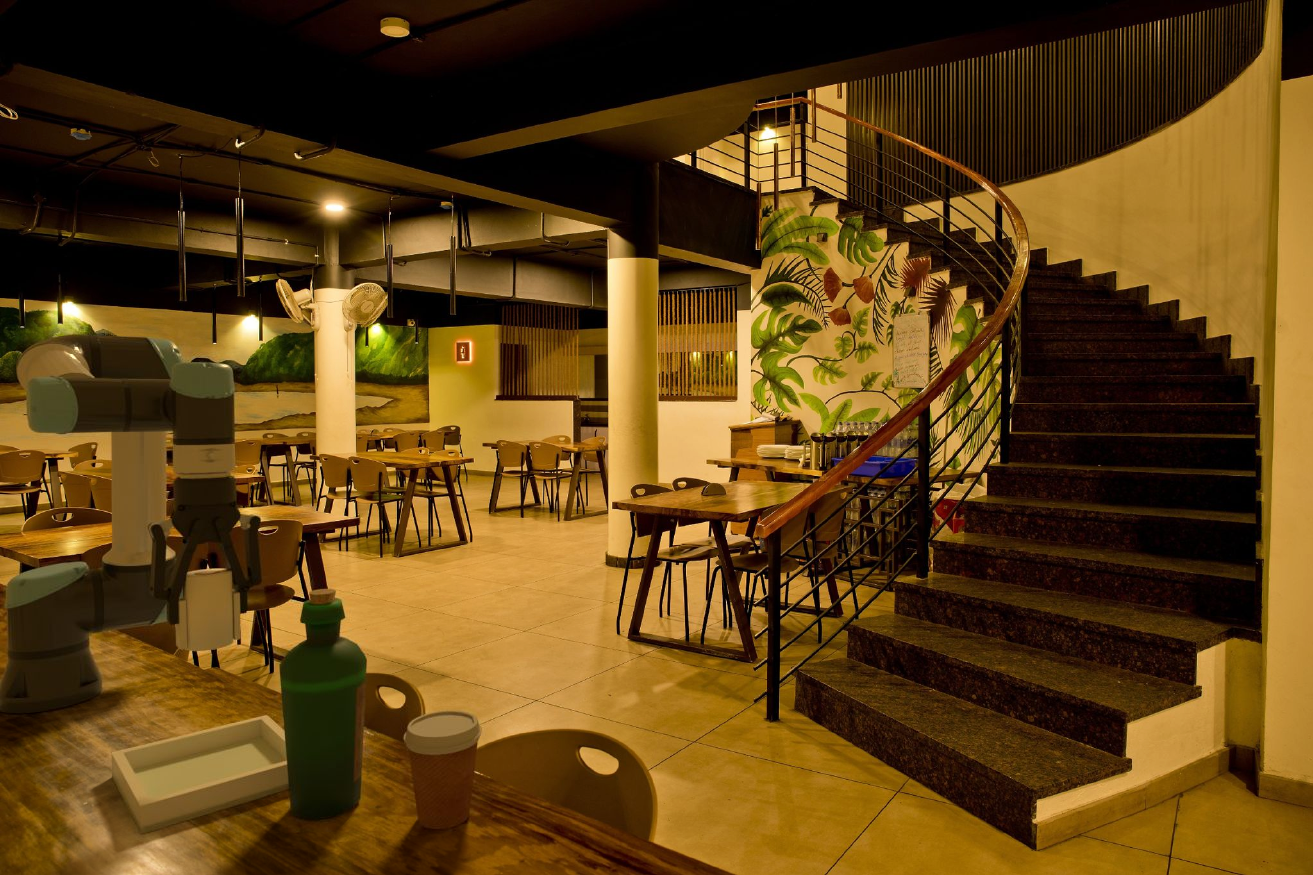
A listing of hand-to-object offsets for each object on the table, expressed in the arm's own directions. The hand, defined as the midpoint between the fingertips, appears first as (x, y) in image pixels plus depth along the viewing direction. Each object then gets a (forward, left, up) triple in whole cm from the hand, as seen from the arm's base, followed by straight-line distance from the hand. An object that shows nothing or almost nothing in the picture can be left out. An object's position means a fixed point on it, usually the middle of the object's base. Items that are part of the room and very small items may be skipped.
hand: (208, 641), depth 111 cm
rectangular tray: (0, 0, -19) cm, 19 cm away
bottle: (+18, +9, -19) cm, 28 cm away
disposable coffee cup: (+31, +19, -19) cm, 41 cm away
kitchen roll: (0, 0, 0) cm, 0 cm away
